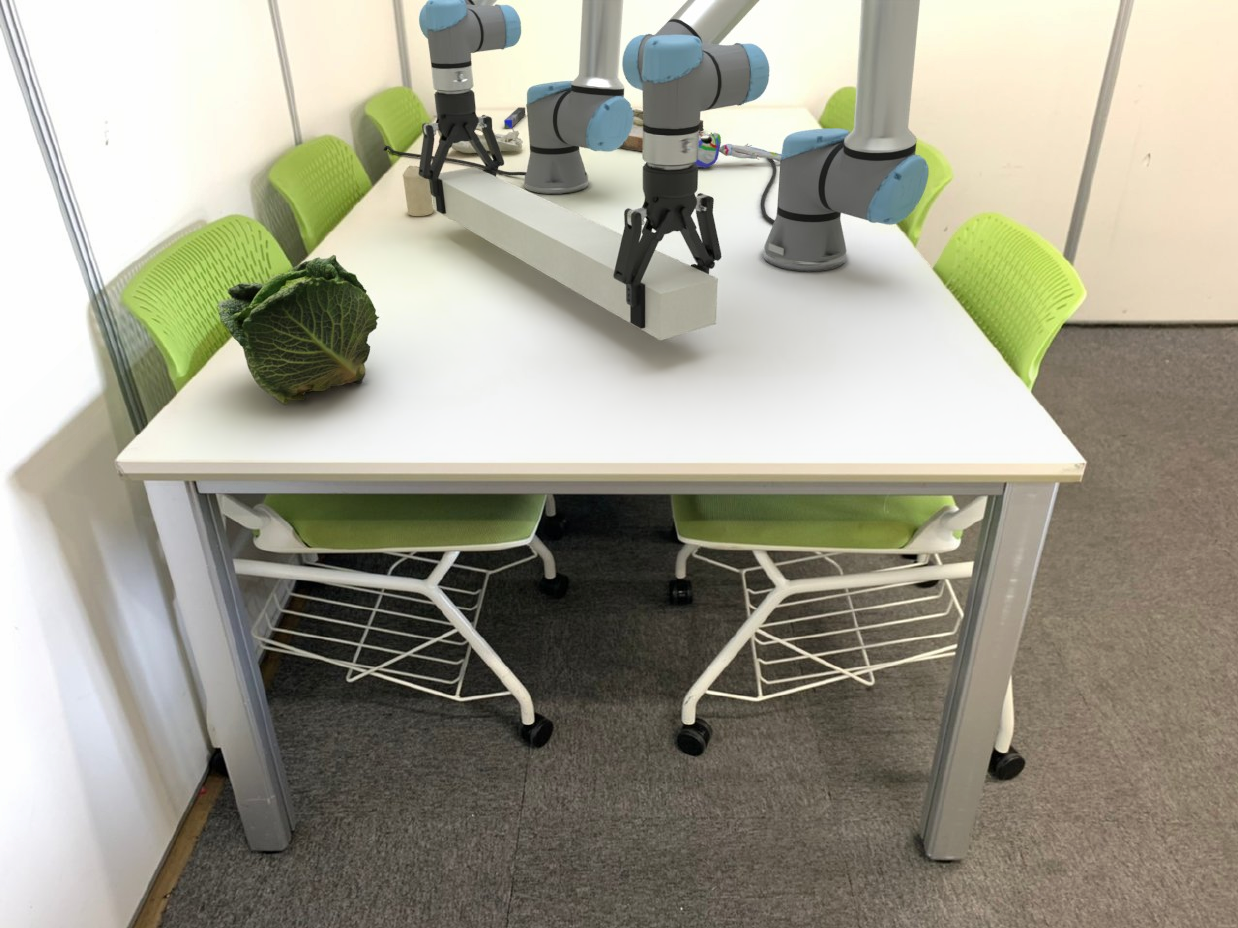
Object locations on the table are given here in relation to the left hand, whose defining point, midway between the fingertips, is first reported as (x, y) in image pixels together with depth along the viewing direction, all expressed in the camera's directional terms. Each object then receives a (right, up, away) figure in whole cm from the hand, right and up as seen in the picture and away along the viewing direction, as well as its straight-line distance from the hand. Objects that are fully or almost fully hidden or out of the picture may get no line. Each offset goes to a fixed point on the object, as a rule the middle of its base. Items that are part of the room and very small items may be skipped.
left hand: (466, 207), depth 181 cm
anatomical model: (-8, +34, +64) cm, 73 cm away
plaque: (+35, +43, +78) cm, 96 cm away
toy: (+63, +24, +48) cm, 83 cm away
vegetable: (-12, -41, -53) cm, 68 cm away
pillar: (-1, +54, +97) cm, 111 cm away
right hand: (+38, -30, -49) cm, 69 cm away
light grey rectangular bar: (+19, -16, -24) cm, 35 cm away
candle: (-13, +3, +17) cm, 21 cm away
